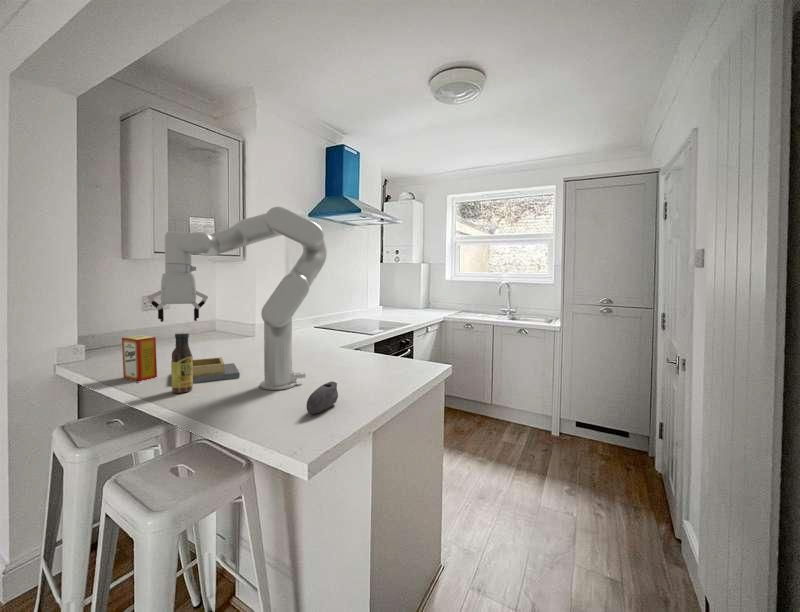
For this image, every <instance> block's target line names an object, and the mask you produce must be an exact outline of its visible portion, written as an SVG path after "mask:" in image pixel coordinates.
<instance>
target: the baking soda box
mask: <svg viewBox="0 0 800 612" xmlns="http://www.w3.org/2000/svg"><path fill="white" fill-rule="evenodd" d="M156 342H157V338H156V336H151V335H150V336H149V335H144V334H143V335H142V334H141V335H132V336H123V337H121V346H122V347H121V351H122V370H123V379H124V378H127V379H126V380H129V379H132V380H131V381H134V380H136V381H135V382H139V381H140V382H143V381H142V380H144V381H148V380H151V378H153V379H156V378H155V377H157V378H158V370H157V369H158V368H157V367H158V366H157V364H158V363H157V347H156V346H157V343H156ZM147 379H148V380H147Z"/></svg>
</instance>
